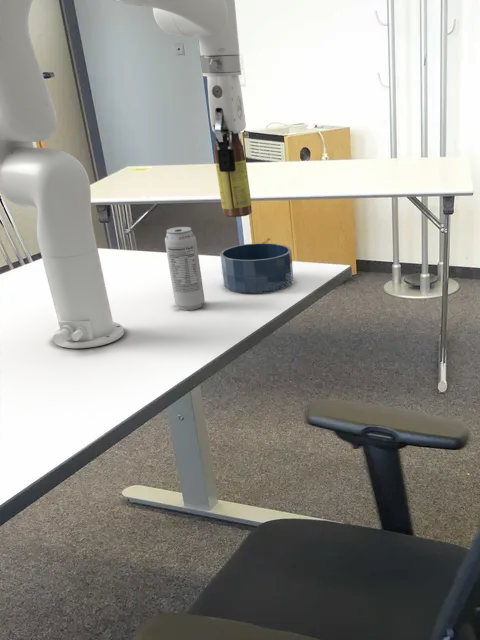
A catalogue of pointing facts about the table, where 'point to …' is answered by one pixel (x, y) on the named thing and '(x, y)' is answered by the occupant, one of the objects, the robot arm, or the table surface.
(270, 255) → the navy blue bowl
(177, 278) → the energy drink can
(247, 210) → the sauce bottle
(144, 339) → the table surface
